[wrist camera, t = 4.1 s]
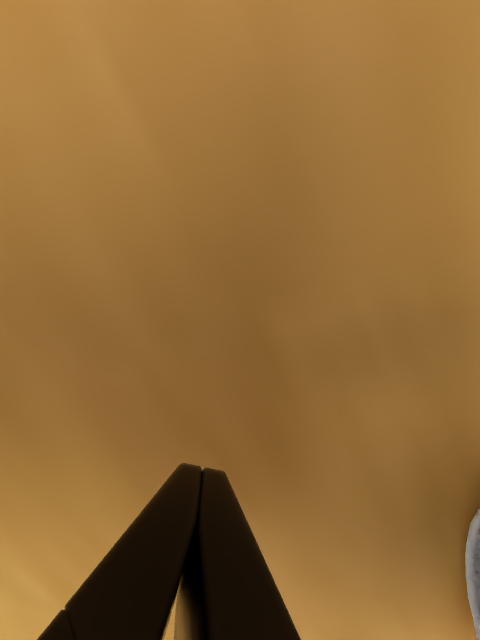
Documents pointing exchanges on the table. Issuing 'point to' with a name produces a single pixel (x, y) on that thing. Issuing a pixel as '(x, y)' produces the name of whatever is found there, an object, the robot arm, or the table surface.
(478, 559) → the ceramic mug
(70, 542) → the table surface
